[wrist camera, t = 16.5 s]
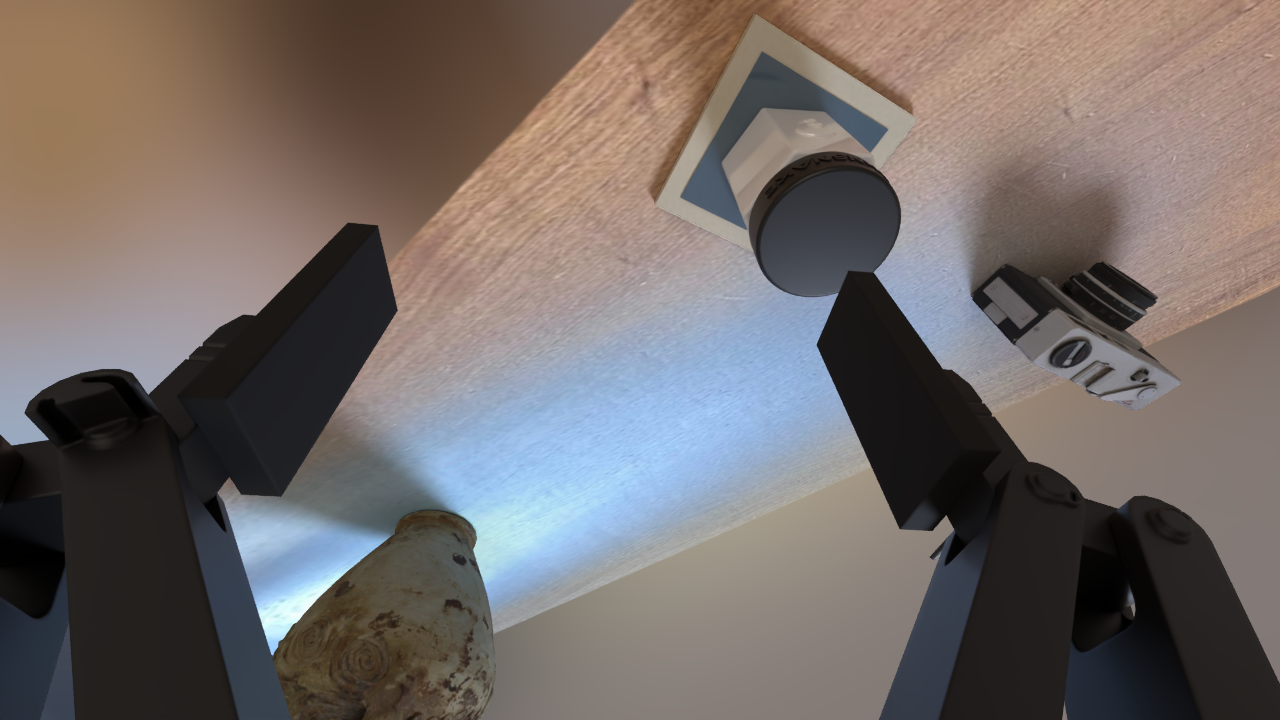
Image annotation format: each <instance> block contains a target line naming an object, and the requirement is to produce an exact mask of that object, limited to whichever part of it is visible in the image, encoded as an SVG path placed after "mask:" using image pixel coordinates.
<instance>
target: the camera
mask: <svg viewBox="0 0 1280 720" xmlns="http://www.w3.org/2000/svg"><path fill="white" fill-rule="evenodd" d="M1069 280H1070V281H1066V282H1065V283H1064V286H1063V287H1061V286H1060V285H1058V284H1056V283H1055V282H1054V281H1050V280H1048V279H1047V278H1045V277H1043V276H1041V277H1040V278H1039V279H1035V278H1033V277H1031V276H1029V275H1027V274H1025V273H1024V272H1022V271H1020V270H1018V269H1016V268H1014V267H1012V266H1011V265H1009V264H1005V265H1004V266H1002V267H1001V268H1000V269H999V270H998V271H997V272H996V273H995V274H994V275H993V276H992V277H990V278H989V279H988V280H987V281H986V282H985V283H984V284H983V285H982V286H981V287H980V288H979V289H978V290H977V291H975V292H974V293H973V294H972V295H971V297H972V298H973V299H972V300H973V301H974V302H975V303H976V304H977V305H978V306H979V308H980V309H981V310H982V311H983V312H984V313H985V314H986V315H987V316H988V317H989V318H990V320H991V321H992V322H993V323H994V324H995V325H996V326H997V327H998V328H999V329H1000V330H1001V332H1002V333H1003V334H1004V335H1005V336H1006V337H1007V338H1008V339H1009V340H1010V341H1011V343H1012V344H1014V345H1016V346H1017V347H1018V348H1019V349H1020V350H1021V351H1022V352H1023V354H1024V355H1025V356H1026V357H1027V358H1028V359H1029V360H1030V361H1031V362H1032V363H1033V364H1036V365H1038V366H1040V367H1042V368H1044V369H1046V370H1048V371H1050V372H1052V373H1054V374H1056V375H1058V376H1061V377H1063V378H1065V379H1069V380H1071V381H1072V382H1075V383H1077V384H1079V385H1081V386H1083V387H1085V388H1086V391H1087V392H1088V393H1089V394H1090V395H1092V396H1096V397H1098V398H1100V399H1102V400H1105V401H1107V400H1111V401H1114V402H1116V403H1118V404H1120V405H1123V406H1125V407H1127V408H1129V409H1131V410H1139V409H1141V408H1142V407H1144V406H1146V405H1147V404H1149V403H1150V402H1152V401H1154V400H1155V399H1157V398H1158V397H1160V396H1162V395H1163V394H1165V393H1166V392H1168V391H1170V390H1171V389H1173V388H1174V387H1176V386H1178V385H1179V384H1181V380H1180V379H1179V378H1178V377H1177V376H1175V375H1174V374H1173V373H1172V372H1170V371H1169V370H1168V369H1167V368H1166V367H1164V366H1163V365H1162V364H1160V362H1159V361H1157V360H1156V359H1155V358H1154V357H1152V356H1151V355H1150V354H1149V353H1148V352H1146V351H1145V350H1144V349H1143V348H1142V347H1143V344H1142V343H1140V342H1139V341H1138V340H1137V339H1136V338H1134V337H1133V336H1132V335H1131V334H1129V333H1128V332H1127V331H1126V330H1125V329H1127V328H1128V327H1130V326H1131V325H1132V324H1134V323H1135V322H1136V321H1138V320H1139V319H1141V318H1142V317H1143V316H1145V315H1146V314H1147V312H1146V310H1145V309H1147V308H1148V307H1151V306H1153V305H1154V304H1155V303H1156V301H1155V300H1156V299H1157V298H1158V297H1157V296H1156V295H1155V294H1153V293H1152V292H1150V291H1149V290H1148V289H1146V288H1145V287H1143V286H1142V285H1141V284H1139V283H1138V282H1136V281H1135V280H1133V279H1132V278H1130V277H1129V276H1127V275H1126V274H1124V273H1122V272H1121V271H1119V270H1118V269H1116V268H1115V267H1113V266H1111V265H1110V264H1108V263H1106V262H1104V261H1102V262H1101V263H1096V264H1094V265H1093V266H1092V268H1091V269H1090V270H1088V271H1087V270H1083V271H1081V272H1079V273H1077V274H1076V275H1075V276H1074V275H1073V276H1071V277H1070V278H1069Z"/></svg>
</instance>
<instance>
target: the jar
mask: <svg viewBox="0 0 1280 720" xmlns="http://www.w3.org/2000/svg"><path fill="white" fill-rule="evenodd" d="M722 167H723V170H724V172H725V175H726V177H727V180H728V183H729V185H730V188H731V190H732V193H733V195H734V198H735V201H736V203H737V206H738V208H739V211H740V213H741V216H742V218H743V221H744V223H745V226H746V228H747V231H748V234H749V238H750V243H751V246H752V249H753V251H754V254H755V256H756V259H757V261H758V264H759V266H760V269H761V271H762V272H763V274H764V275H765V277H766V278H767V279H768V280H769V281H770V282H771V283H772V284H773V285H774V286H776V287H777V288H779V289H780V290H782V291H784V292H787V293H789V294H793V295H796V296H802V297H821V296H827V295H832V294H835V293H839V291H840V289H841V286H842V284H843V282H844V279H845V277H846V275H847V272H848V270H850V271H861V272H871V273H873V272H874V271H875V270H876V269H877V268H878V267H879V266H880V265H881V264H882V262H883V261H884V260H885V259H886V257H887V256H888V254H889V253H890V251H891V249H892V248H893V246H894V244H895V241H896V239H897V236H898V233H899V229H900V223H901V208H900V203H899V200H898V197H897V195H896V193H895V191H894V189H893V187H892V186H891V185H890V183H889V181H888V180H887V179H886V177H885V176H884V175H883V174H882V173H881V172H880V171H879V170H878V169H876V165H875V160H874V156H873V155H872V154H871V153H870V152H869V151H868V150H867V149H866V148H865V147H864V146H863V145H861V144H860V143H859V142H858V141H857V140H856V139H855V138H854V137H853V136H851V135H850V134H849V133H848V132H847V131H846V130H845V129H844V128H843V127H841V126H840V125H839V124H838V123H837V122H836V121H835V120H834V119H833V118H832V117H830V116H829V115H828V114H827V113H826V112H823V111H806V110H790V109H774V108H762V109H761V110H760V111H759V113H758V114H757V116H756V117H755V118H754V120H753V121H752V122H751V124H750V125H749V126H748V128H747V129H746V130H745V132H744V133H743V134H742V136H741V137H740V138H739V140H738V141H737V142H736V144H735V145H734V146H733V148H732V149H731V150H730V152H729V153H728V154H727V156H726V157H725V158H724V160H723V161H722Z"/></svg>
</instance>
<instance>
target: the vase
mask: <svg viewBox="0 0 1280 720" xmlns="http://www.w3.org/2000/svg"><path fill="white" fill-rule="evenodd" d="M476 540H477V536H476V532H475V530H474V528H473V527H472V525H471V524H469V523H468V522H466V521H465V520H464V519H462V518H461V517H458V516H456V515H453V514H449V513H446V512H442V511H427V510H424V511H418V512H414V513H410V514H408V515H406V516H405V517H403V518H402V519H401V520H400V521H399V522H398V524H397V525H396V529H395V534H394V535H392V536H391V537H390V538H388V539H387V540H386V541H385V542H383V543H382V544H381V545H380V546H379V547H377V548H376V549H375V550H373V551H372V552H371V553H369V554H368V555H367V556H365V557H364V558H363V559H362V560H361V561H360V562H358V563H357V564H356V565H355V566H353V567H352V568H351V569H350V570H348V571H347V572H346V573H345V574H344V575H343V576H342V577H341V578H340V579H338V580H337V581H336V582H335V583H334V584H333V585H332V586H331V587H330V588H329V589H328V590H327V591H326V592H325V593H323V594H322V595H321V596H320V597H319V598H318V599H317V600H316V601H315V603H314V604H313V605H312V606H311V607H310V608H309V609H308V610H307V611H306V612H305V613H304V615H303V616H302V617H301V619H300V620H299V621H298V622H297V623H295V624H293V625H292V627H291V629H290V630H289V632H288V633H287V634H286V636H285V638H284V639H283V640H281V641H279V643H278V648H277V649H276V651H275V652H274V657H273V662H274V665H275V668H276V672H277V675H278V678H279V681H280V684H281V688H282V691H283V694H284V697H285V700H286V704H287V707H288V710H289V713H290V717H291V720H479V719H481V718H482V716H483V714H484V713H485V711H486V709H487V707H488V705H489V703H490V700H491V697H492V695H493V684H494V681H495V667H496V665H495V651H494V637H493V626H492V618H491V612H490V607H489V602H488V597H487V593H486V590H485V586H484V583H483V580H482V577H481V574H480V571H479V568H478V565H477V562H476V558H475V555H474V552H473V548H474V546H475V544H476Z"/></svg>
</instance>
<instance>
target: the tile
mask: <svg viewBox="0 0 1280 720" xmlns="http://www.w3.org/2000/svg"><path fill="white" fill-rule="evenodd" d="M762 108H774V109H790V110H806V111H823V112H826V113H827V114H828V115H829V116H830V117H832V118H833V119H834V120H835V121H836V122H837V123H838V124H839V125H840V126H841V127H843V128H844V129H845V130H846V131H847V132H848V133H849V134H850V135H851V136H853V137H854V138H855V139H856V140H857V141H858V142H859V143H860V144H861V145H863V146H864V147H865V148H866V149H867V150H868V151H869V152H870V153H871V154H872V155H873V156H874V160H875V165H876V169H878V170H879V169H880V167H881V166H882V165H883V164H884V162H885V161H886V160H887V158H888V157H889V156H890V155H891V153H892V152H893V151H894V150H895V148H896V147H897V146H898V145H899V143H900V142H901V141H902V139H903V138H904V137H905V136H906V134H907V133H908V132H909V131H910V129H911V128H912V127H913V125H914V124H915V123H916V122H917V120H918V118H916V117H915V116H913V115H912V114H910V113H909V112H907V111H906V110H904V109H902V108H901V107H899V106H898V105H896V104H895V103H893V102H892V101H890V100H888V99H887V98H885V97H884V96H882V95H881V94H879V93H878V92H876V91H875V90H873V89H871V88H870V87H868V86H867V85H865V84H864V83H862V82H861V81H859V80H857V79H856V78H854V77H853V76H851V75H850V74H848V73H847V72H845V71H843V70H842V69H840V68H839V67H837V66H836V65H834V64H833V63H831V62H830V61H828V60H826V59H825V58H823V57H822V56H820V55H819V54H817V53H816V52H814V51H812V50H811V49H809V48H808V47H806V46H805V45H803V44H802V43H800V42H798V41H797V40H795V39H794V38H792V37H791V36H789V35H788V34H786V33H784V32H783V31H781V30H780V29H778V28H777V27H775V26H774V25H772V24H771V23H769V22H767V21H766V20H764V19H763V18H761V17H760V16H758V15H757V14H755V13H754V14H753V16H752V18H751V20H750V22H749V23H748V25H747V27H746V29H745V31H744V33H743V35H742V37H741V39H740V40H739V42H738V44H737V46H736V48H735V50H734V52H733V54H732V56H731V57H730V59H729V61H728V63H727V65H726V67H725V69H724V71H723V73H722V74H721V76H720V78H719V80H718V82H717V84H716V86H715V88H714V90H713V91H712V93H711V95H710V97H709V99H708V101H707V103H706V105H705V107H704V108H703V110H702V112H701V114H700V116H699V118H698V120H697V122H696V124H695V125H694V127H693V129H692V131H691V133H690V135H689V137H688V139H687V141H686V142H685V144H684V146H683V148H682V150H681V152H680V154H679V156H678V158H677V159H676V161H675V163H674V165H673V167H672V169H671V171H670V173H669V175H668V176H667V178H666V180H665V182H664V184H663V186H662V188H661V190H660V192H659V193H658V195H657V197H656V199H655V201H654V205H655V206H656V207H659V208H661V209H663V210H665V211H667V212H669V213H671V214H673V215H675V216H677V217H680V218H682V219H684V220H686V221H688V222H690V223H692V224H694V225H696V226H698V227H700V228H703V229H705V230H707V231H709V232H711V233H713V234H715V235H717V236H719V237H721V238H724V239H726V240H728V241H730V242H732V243H734V244H736V245H738V246H740V247H742V248H745V249H747V250H749V251H751V252H753V253H754V251H753V249H752V246H751V243H750V238H749V234H748V231H747V228H746V226H745V223H744V221H743V218H742V216H741V213H740V211H739V208H738V206H737V203H736V201H735V198H734V195H733V193H732V190H731V188H730V185H729V183H728V180H727V177H726V175H725V172H724V170H723V167H722V161H723V160H724V158H725V157H726V156H727V154H728V153H729V152H730V150H731V149H732V148H733V146H734V145H735V144H736V142H737V141H738V140H739V138H740V137H741V136H742V134H743V133H744V132H745V130H746V129H747V128H748V126H749V125H750V124H751V122H752V121H753V120H754V118H755V117H756V116H757V114H758V113H759V111H760V110H761V109H762Z"/></svg>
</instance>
